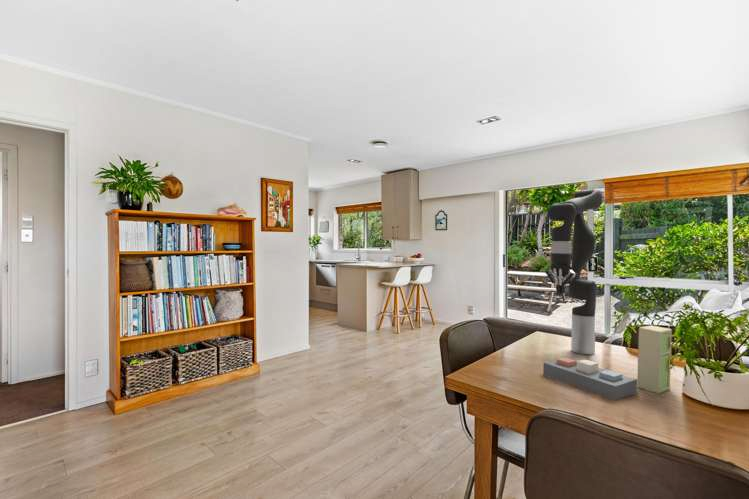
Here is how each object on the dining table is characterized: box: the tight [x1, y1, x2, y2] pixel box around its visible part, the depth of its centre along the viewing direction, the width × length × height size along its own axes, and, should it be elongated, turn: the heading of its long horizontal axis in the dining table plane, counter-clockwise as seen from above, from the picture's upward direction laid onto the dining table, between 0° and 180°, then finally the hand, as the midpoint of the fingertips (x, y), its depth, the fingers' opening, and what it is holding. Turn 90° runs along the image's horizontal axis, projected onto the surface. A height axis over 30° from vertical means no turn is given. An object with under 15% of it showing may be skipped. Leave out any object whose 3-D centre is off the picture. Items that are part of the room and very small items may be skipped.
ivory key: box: [576, 359, 599, 374], centre depth 132 cm, size 5×5×4 cm
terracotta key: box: [556, 357, 578, 367], centre depth 140 cm, size 5×5×4 cm
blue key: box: [599, 369, 623, 382], centre depth 126 cm, size 5×5×4 cm
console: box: [542, 359, 638, 401], centre depth 133 cm, size 13×26×4 cm, turn 29°
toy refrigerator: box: [636, 325, 673, 394], centre depth 128 cm, size 8×7×21 cm
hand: (560, 294), depth 153 cm, fingers closed
